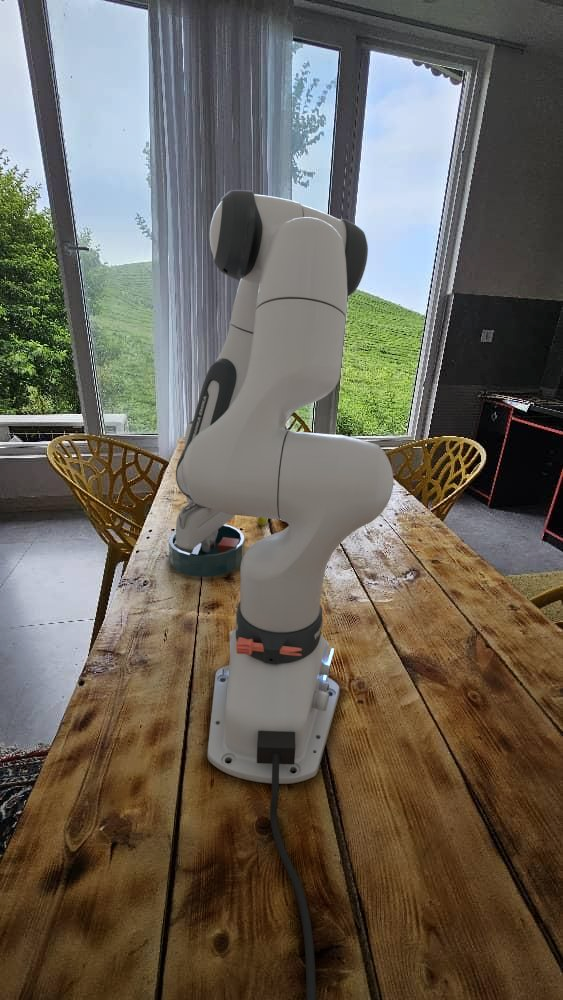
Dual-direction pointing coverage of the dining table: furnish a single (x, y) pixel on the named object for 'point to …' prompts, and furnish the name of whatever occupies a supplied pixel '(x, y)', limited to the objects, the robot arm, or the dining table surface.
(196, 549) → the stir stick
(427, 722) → the dining table surface
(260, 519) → the fruit
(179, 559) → the bowl
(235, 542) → the terracotta block
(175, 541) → the cream block
